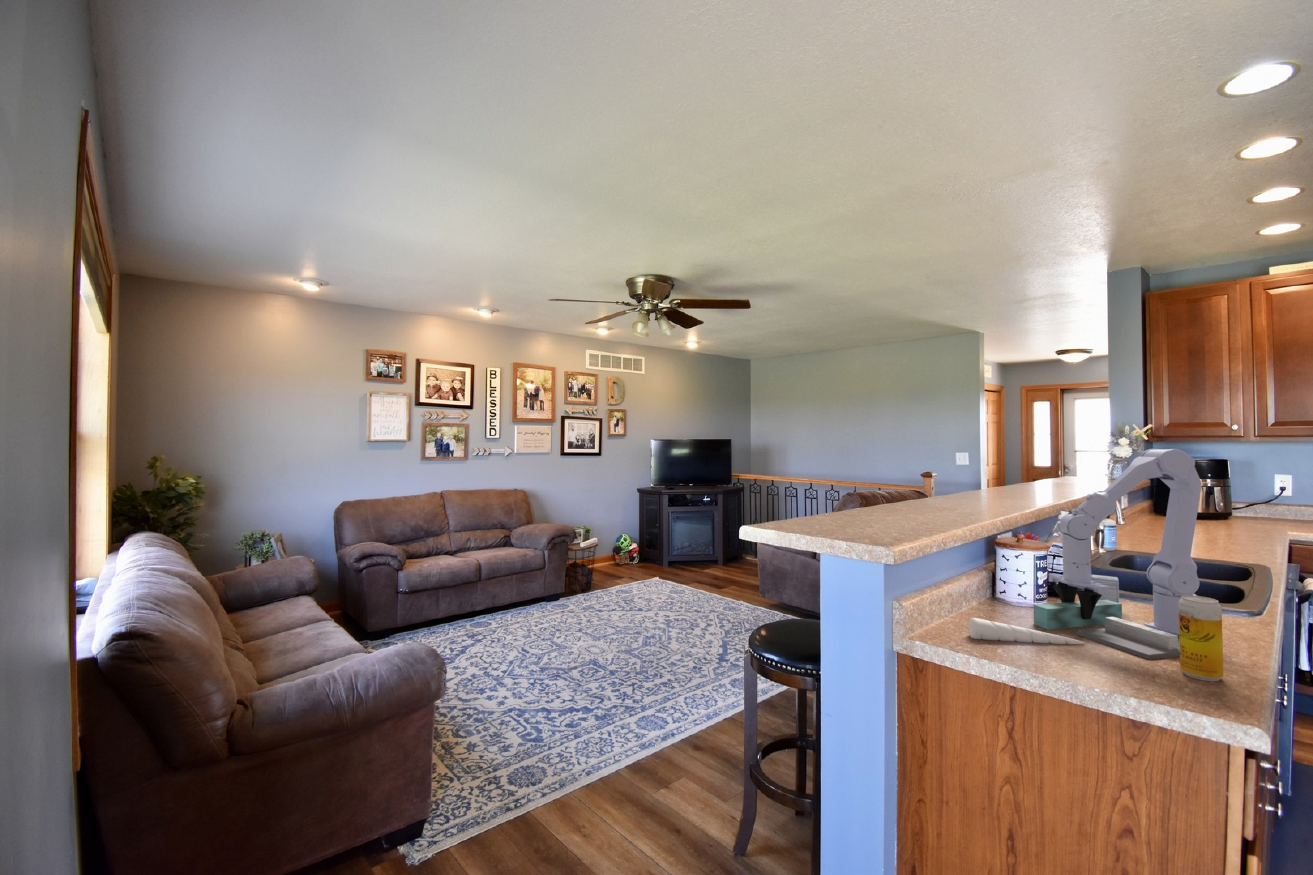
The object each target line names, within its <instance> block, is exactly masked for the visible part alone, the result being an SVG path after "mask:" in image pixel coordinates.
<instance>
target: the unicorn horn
mask: <svg viewBox="0 0 1313 875" xmlns="http://www.w3.org/2000/svg"><path fill="white" fill-rule="evenodd" d="M968 632H969V636H970V638H971V639H973V638H974V639H973V640H983V641H985V640H987V641H1000V642H1001V641H1002V642H1018V643H1019V642H1020V643H1032V642H1033V643H1034V644H1053V645H1054V644H1055V645H1057V644H1058V645H1086V644H1087V643H1086V641H1082V640H1079V639H1078V640H1077V639H1075V638H1070V637H1067V636H1062V635H1057V634H1053V633H1048V632H1044V631H1040V630H1035V629H1031V628H1025V627H1021V626H1016V625H1013V624H1005V623H1002V622H997V621H992V620H987V619H983V618H979V617H978V618H977V617H971V618H970V620H969V623H968Z"/></svg>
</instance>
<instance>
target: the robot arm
mask: <svg viewBox="0 0 1313 875" xmlns="http://www.w3.org/2000/svg"><path fill="white" fill-rule="evenodd" d="M1195 466H1196V460H1195V459H1194V458H1193V456H1191V455H1189V454H1188V453H1187V452H1186V451H1184V450H1183V449H1182V450H1181V449H1178V448H1170V449H1167V448H1166V449H1163V448H1162V449H1159V448H1149V449H1146V450H1145V451H1143V452H1142V453H1141V454H1140V456H1137V457H1135V458H1134V459H1133V460H1132V462H1131V463H1130V465H1129V466H1128V467H1127V468H1126V469H1125V470H1124V471H1123V472H1122V473H1121V474H1119V475H1118V476H1117V478H1116V479H1115V480H1113V482H1111V483H1110V484H1109V486H1107V487H1106V489H1104V491H1101V492H1100V491H1099V492H1097V491H1096V492H1093V493H1092V494H1091V493H1088V494H1087V495H1086V496H1085V497H1084V498H1085V500H1084V501H1083V502H1082V503H1081V504H1080V505H1079V506H1078V507H1076V508H1072V509H1070V510H1071V511H1070V512H1071V513H1069V514H1066V515H1064V516H1062V517H1061V518H1060V520H1059V523H1058V524H1057V528H1058V531H1059V532H1060V534H1062V574H1060V573H1054V572H1053V573H1048V581H1049V582H1053V583H1054V582H1055V583H1057V584H1054V585H1053V589H1054V590H1055V592H1056V594H1057V595H1058V597H1059V599H1060V603H1065V602H1076V595H1077V597H1078V600H1079V601H1078V602H1080V606H1081V616H1082V619H1091V617H1092V614H1093V610H1094V608H1095V605H1096V603H1097V602H1098V600H1099V599H1100V597H1101V596H1102V595H1104V594H1108V586H1105V585H1102V584H1099V583H1097V582H1094V581H1091V575H1092V563H1091V562H1092V560H1091V537H1092V536H1094V535H1095V533H1096V527H1097V526H1098V525H1100V523H1102V522H1104V520H1105V519H1106V518H1107V517H1109V516H1110V515H1111V514H1112V513H1113V512H1114V511H1115V510H1117V505H1118V504H1117V501H1118V500H1120V499H1121V498H1123V496H1125V495H1126V494H1127V493H1129V492H1130V491H1132V490H1133V489H1134V488H1135V487H1136V486H1138V485H1139V484H1140V483H1142V482H1143V481H1145V480H1149V479H1156V478H1158V479H1160V480H1161V482H1163V483H1164V484H1165V485H1167V487H1168V488H1169V490H1170V491H1169V496H1168V502H1167V509H1166V516H1165V521H1164V527H1163V533H1162V540H1161V545H1160V546H1161V548H1160V551H1158V552H1157V553H1156V554H1154V556H1153V557H1152V558H1153V559H1152V562H1151V564H1150V565H1149V566H1148V568H1147V569H1146V577H1147V579H1148V581H1149V582H1150V583H1151V584H1152V596H1153V597H1152V603H1153V604H1152V607H1153V610H1152V611H1153V622H1145V623H1144V624H1143V626H1147V627H1150V628H1154V629H1157V630H1160V631H1164V632H1167V633H1171V634H1174V635H1177V636H1179V600H1180V599H1181V596H1185V595H1191V596H1198V595H1197V594H1196V592H1197V591H1198V589H1199V587H1200V584H1201V583H1200V578H1199V577H1198V574H1197V573H1198V572H1197V571H1198V565H1197V564H1196V562H1195V561H1194V560H1193V558H1192V556H1191V554H1192V547H1193V543H1194V537H1195V530H1196V523H1197V516H1198V511H1199V505H1200V499H1201V492H1202V485H1203V484H1202V481H1201V478H1200V475H1199V473H1198V472H1197V468H1196V467H1195ZM1078 589H1081V590H1078Z"/></svg>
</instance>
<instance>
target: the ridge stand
mask: <svg viewBox="0 0 1313 875" xmlns="http://www.w3.org/2000/svg"><path fill="white" fill-rule="evenodd" d="M1077 636H1080V637H1082V638H1084V639H1085V638H1086V639H1088V640H1091V641H1094V642H1097V643H1099V642H1100V644H1103V645H1105V646H1108V647H1110V648H1115V649H1116V650H1117V649H1118V650H1119V651H1123V652H1126V653H1129V654H1131V655H1135V656H1137V657H1140V658H1143V659H1146V660H1156V659H1167V658H1176V657H1180V640H1179V635H1176V634H1173V633H1169V632H1166V631H1162V630H1159V629H1156V628H1152V627H1149V626H1145V625H1144V624H1143V625H1142V624H1139V623H1136V622H1133V621H1128V620H1125V619H1123V618H1122V619H1119V618H1116V617H1105V625H1104V628H1094V629H1084V630H1077Z"/></svg>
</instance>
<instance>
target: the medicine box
mask: <svg viewBox="0 0 1313 875" xmlns="http://www.w3.org/2000/svg"><path fill="white" fill-rule="evenodd" d="M1091 581H1094V582H1097V583H1099V584H1102V585H1105V586H1108V594H1104V595H1102V596H1101V597H1100V599H1099V600H1109V601H1113V602H1117V603H1120V586H1119V585H1120V582H1119V578H1118V577H1117V576H1111V575H1110V576H1109V575H1101V574H1100V575H1099V574H1091Z"/></svg>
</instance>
